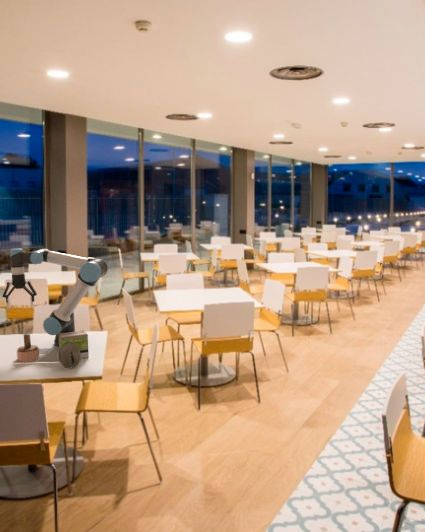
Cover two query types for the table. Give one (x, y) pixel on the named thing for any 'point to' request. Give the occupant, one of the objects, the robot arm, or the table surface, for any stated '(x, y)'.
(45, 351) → the mat
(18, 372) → the table surface
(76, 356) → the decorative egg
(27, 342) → the lid
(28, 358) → the bowl
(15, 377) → the table surface
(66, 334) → the tea box
